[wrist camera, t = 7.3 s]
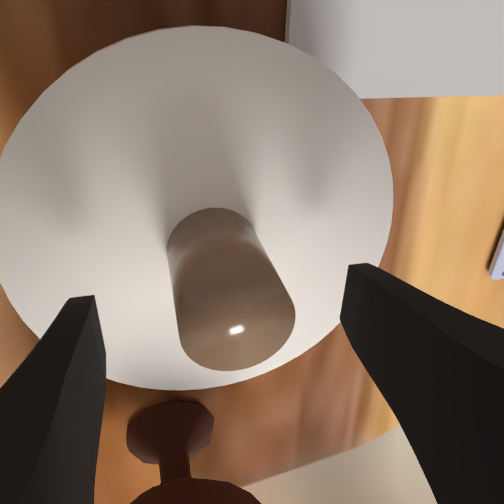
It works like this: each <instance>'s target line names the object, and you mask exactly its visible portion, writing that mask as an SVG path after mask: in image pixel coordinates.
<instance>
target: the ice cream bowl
mask: <svg viewBox="0 0 504 504" xmlns="http://www.w3.org/2000/svg"><path fill="white" fill-rule="evenodd" d="M213 423H214V418H213V417H212V416H211V415H210V413H209V412H208V411H207V410H206V409H205V408H204V407H203V406H202V405H201V404H196V403H190V402H184V401H178V400H174V401H171V402H167V403H163V404H160V405H156V406H153V407H149V408H147V409H145V410H144V411H143V412H142V413H141V414H140V415H139V416H138V417H137V418H136V419H134V420H133V421H132V422H131V423H130V424H129V425H128V432H127V447H128V449H129V451H130V452H131V453H132V454H133V455H135V456H136V457H137V458H138V459H140V460H141V461H142V462H143V463H149V464H159V468H160V478H161V484H160V485H158V486H155V487H152V488H151V489H149V490H147V491H145V492H144V493H142V494H141V495H140V496H138V497H137V498H136V499H135V500H134V501H133V502H131V503H130V504H261V503H260V502H259V501H258V500H257V499H256V498H255V497H254V496H253V495H252V494H251V493H250V492H247V491H246V490H244V489H242V488H240V487H237V486H235V485H233V484H231V483H229V482H224V481H217V480H209V479H197V478H192V477H191V474H190V464H189V459H190V458H193V457H194V456H195V455H196V454H197V453H199V452H200V451H201V450H202V449H203V448H204V447H206V446H207V445H208V444H209V443H210V438H211V433H212V429H213Z"/></svg>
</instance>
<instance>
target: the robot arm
mask: <svg viewBox="0 0 504 504" xmlns="http://www.w3.org/2000/svg"><path fill="white" fill-rule="evenodd" d="M488 276H489V277H490V278H492V279H493V280H499V279H504V230H503V232H502V235H501V238H500V241H499V243H498V246H497V249H496V251H495V254H494V257H493V260H492V262H491V265H490V268H489V270H488ZM339 319H340V321H341V323H342V326H343V328H344V330H345V333H346V335H347V337H348V339H349V341H350V343H351V346H352V348H353V349H354V351H355V352H356V354H357V356H358V357H359V359H360V360H361V362H362V364H363V365H364V367H365V368H366V370H367V372H368V373H369V375H370V376H371V378H372V379H373V381H374V382H375V384H376V386H377V387H378V389H379V390H380V392H381V393H382V395H383V397H384V398H385V400H386V401H387V403H388V404H389V406H390V407H391V409H392V411H393V413H394V414H395V416H396V418H397V419H398V421H399V423H400V425H401V427H402V429H403V431H404V433H405V435H406V437H407V439H408V441H409V443H410V445H411V447H412V449H413V451H414V453H415V455H416V457H417V459H418V461H419V464H420V466H421V468H422V470H423V472H424V474H425V476H426V478H427V481H428V483H429V485H430V487H431V490H432V492H433V494H434V497H435V499H436V501H437V503H438V504H504V329H503V328H501V327H498V326H496V325H493V324H491V323H488V322H486V321H483V320H481V319H479V318H476V317H474V316H472V315H469V314H467V313H465V312H463V311H461V310H459V309H457V308H454V307H452V306H450V305H448V304H446V303H444V302H442V301H440V300H438V299H436V298H434V297H432V296H430V295H428V294H426V293H425V292H423V291H421V290H419V289H417V288H415V287H413V286H412V285H410V284H408V283H406V282H404V281H402V280H401V279H399V278H397V277H395V276H393V275H391V274H389V273H388V272H386V271H384V270H382V269H380V268H378V267H376V266H374V265H371V264H369V263H360V264H351V265H348V271H347V277H346V283H345V289H344V295H343V301H342V306H341V312H340V318H339ZM105 393H106V350H105V345H104V340H103V335H102V330H101V325H100V320H99V315H98V310H97V305H96V300H95V295H89V296H80V297H72V298H69V299H68V300H67V301H66V302H65V304H64V305H63V307H62V308H61V310H60V312H59V313H58V315H57V316H56V318H55V319H54V320H53V322H52V323H51V325H50V326H49V328H48V329H47V331H46V332H45V333H44V335H43V336H42V337H41V339H40V340H39V341H38V343H37V344H36V345H35V347H34V348H33V349H32V351H31V352H30V353H29V355H28V356H27V357H26V359H25V360H24V361H23V362H22V363H21V365H20V366H19V367H18V368H17V369H16V371H15V372H14V373H13V374H12V375H11V377H10V378H9V379H8V380H7V381H6V383H5V384H4V385H3V386H2V387H1V388H0V504H94V485H95V473H96V463H97V456H98V448H99V440H100V432H101V425H102V417H103V409H104V401H105Z"/></svg>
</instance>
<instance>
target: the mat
mask: <svg viewBox="0 0 504 504" xmlns="http://www.w3.org/2000/svg"><path fill="white" fill-rule="evenodd" d="M285 43H287V44H290V45H292V46H293V47H295V48H297V49H299V50H301V51H303V52H305V53H307V54H309V55H310V56H312V57H314V58H316V59H317V60H318V61H320V62H321V63H322V64H324V65H325V66H326V67H328V68H329V69H330V70H332V71H333V72H335V73H336V74H337V75H338V76H339V77H340V78H341V79H342V80H343V81H344V82H345V83H346V84H347V85H348V86H349V87H350V88H351V89H352V90H353V91H354V92H355V93H356V95H357V96H358V97H359V99H360V98H402V97H444V96H486V95H504V0H287V11H286V28H285Z"/></svg>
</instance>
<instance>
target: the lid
mask: <svg viewBox="0 0 504 504" xmlns="http://www.w3.org/2000/svg"><path fill="white" fill-rule="evenodd" d="M392 211H393V179H392V174H391V168H390V162H389V157H388V154H387V151H386V148H385V145H384V142H383V139H382V136H381V134H380V132H379V130H378V128H377V126H376V124H375V122H374V120H373V118H372V116H371V114H370V113H369V111H368V110H367V108H366V107H365V106H364V104H363V103H362V102H361V100H360V99H359V97H358V96H357V95H356V93H355V92H354V91H353V90H352V89H351V88H350V87H349V86H348V85H347V84H346V83H345V82H344V81H343V80H342V79H341V78H340V77H339V76H338V75H337V74H336V73H335V72H333V71H332V70H330V69H329V68H328V67H326V66H325V65H324V64H322V63H321V62H320V61H318V60H317V59H316V58H314V57H312V56H310V55H309V54H307V53H305V52H303V51H301V50H299V49H297V48H295V47H293V46H292V45H290V44H287V43H284V42H282V41H279V40H276V39H273V38H270V37H267V36H264V35H261V34H258V33H255V32H250V31H245V30H239V29H234V28H229V27H223V26H199V25H188V26H180V27H171V28H162V29H157V30H153V31H149V32H145V33H142V34H138V35H134V36H131V37H127V38H125V39H123V40H120V41H118V42H116V43H113V44H111V45H109V46H107V47H104V48H102V49H100V50H98V51H96V52H94V53H93V54H91V55H90V56H88V57H86V58H85V59H83V60H82V61H80V62H79V63H77V64H75V65H74V66H72V67H71V68H69V69H68V70H67V71H66V72H65V73H64V74H63V75H62V76H60V77H59V78H58V79H57V80H56V81H55V82H54V83H52V84H51V85H50V86H49V87H48V88H47V89H46V90H45V91H44V92H43V93H42V94H41V95H40V97H39V98H38V99H37V100H36V101H35V103H34V104H33V105H32V106H31V107H30V109H29V110H28V111H27V112H26V113H25V115H24V116H23V117H22V118H21V120H20V121H19V123H18V125H17V126H16V128H15V130H14V132H13V133H12V135H11V137H10V138H9V140H8V142H7V143H6V145H5V147H4V150H3V152H2V155H1V158H0V283H1V285H2V287H3V289H4V291H5V293H6V295H7V297H8V299H9V301H10V303H11V304H12V306H13V307H14V309H15V310H16V311H17V313H18V314H19V316H20V317H21V319H22V320H23V321H24V323H25V324H26V325H27V326H28V327H29V328H30V329H31V330H32V331H33V332H34V333H35V334H36V335H37V336H38V338H39V339H41V337H42V336H43V335H44V333H45V332H46V331H47V329H48V328H49V326H50V325H51V323H52V322H53V320H54V319H55V318H56V316H57V315H58V313H59V312H60V310H61V308H62V307H63V305H64V304H65V302H66V301H67V300H68V299H69V298H72V297H80V296H89V295H95V300H96V305H97V310H98V315H99V320H100V325H101V330H102V335H103V340H104V345H105V350H106V378H107V379H110V380H113V381H116V382H119V383H123V384H128V385H132V386H136V387H142V388H150V389H158V390H195V389H206V388H212V387H218V386H224V385H228V384H232V383H236V382H240V381H244V380H247V379H250V378H253V377H255V376H258V375H261V374H264V373H266V372H268V371H270V370H273V369H275V368H277V367H279V366H281V365H283V364H285V363H287V362H289V361H290V360H292V359H294V358H296V357H297V356H299V355H301V354H302V353H304V352H305V351H306V350H308V349H309V348H311V347H312V346H314V345H315V344H316V343H318V342H319V341H320V340H321V339H322V338H324V337H325V336H326V335H327V334H328V333H329V332H331V331H332V330H333V329H334V328H335V327H336V326H337V325H338V324H339V323H340V322H341V321H340V319H339V318H340V312H341V306H342V301H343V295H344V289H345V283H346V277H347V271H348V265H351V264H360V263H369V264H371V265H374V266H376V267H378V266H379V264H380V261H381V258H382V255H383V253H384V250H385V247H386V244H387V240H388V236H389V231H390V227H391V221H392Z"/></svg>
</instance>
